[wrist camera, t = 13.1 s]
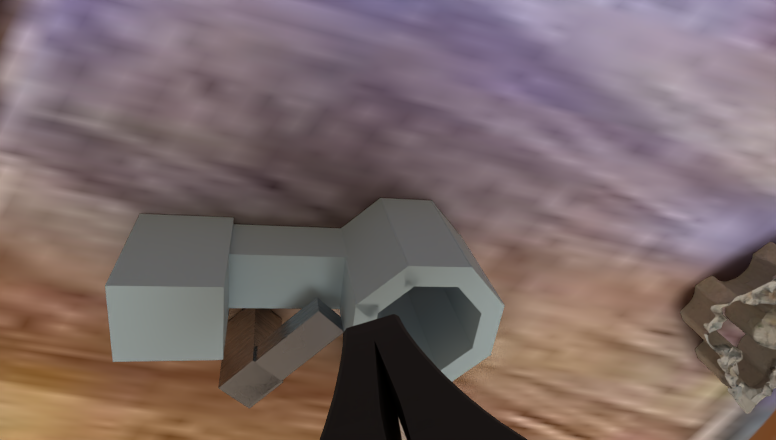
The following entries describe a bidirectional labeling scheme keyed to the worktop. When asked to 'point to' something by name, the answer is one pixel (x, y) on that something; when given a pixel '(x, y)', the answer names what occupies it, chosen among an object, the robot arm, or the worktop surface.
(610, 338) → the worktop surface
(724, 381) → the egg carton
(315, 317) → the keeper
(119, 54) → the worktop surface
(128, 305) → the link
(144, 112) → the worktop surface
